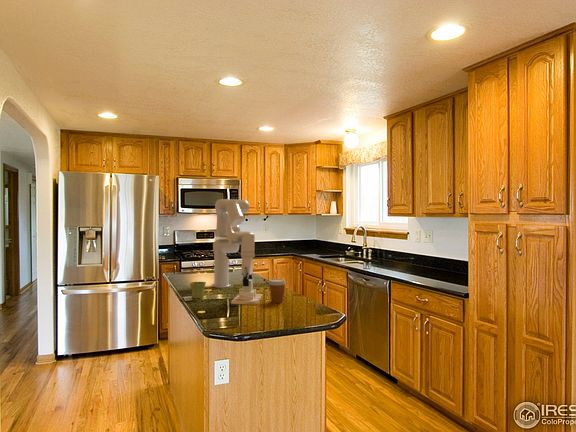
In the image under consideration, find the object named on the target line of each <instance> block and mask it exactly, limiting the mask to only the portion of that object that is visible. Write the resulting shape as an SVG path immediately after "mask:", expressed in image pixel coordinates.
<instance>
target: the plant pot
mask: <svg viewBox="0 0 576 432" xmlns="http://www.w3.org/2000/svg"><path fill="white" fill-rule="evenodd" d="M206 284H207V282H206V281H193V282H189V286H190V288H191V289H190V290H191V295H192V298H193V299H194V298H196V299H203V298H204V295H205V288H206Z"/></svg>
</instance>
